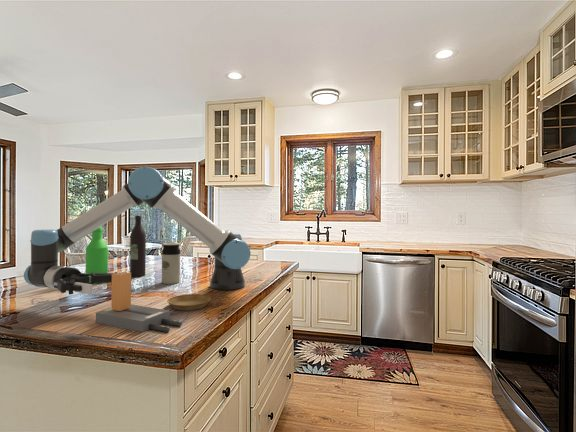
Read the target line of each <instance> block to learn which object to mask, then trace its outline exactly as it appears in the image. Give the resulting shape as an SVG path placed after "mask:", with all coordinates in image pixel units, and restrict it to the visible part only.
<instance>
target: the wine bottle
mask: <svg viewBox="0 0 576 432" xmlns="http://www.w3.org/2000/svg"><path fill="white" fill-rule="evenodd" d="M134 219H135V222H134V227H133V229H132V230H131V232H130V237H129V238H130V239H129V240H130V241H129V242H130V243H129V245H130V246H129V273H131V278H142V276H143V277H145V276H146V261H147V260H146V258H147V257H146V255H147V254H146V251H147V247H146V246H147V244H146V243H147V242H146V241H147V240H146V239H147V238H146V236H147V235H146V232H145V230H144V228H143V225H142V216H141V215H135V216H134Z"/></svg>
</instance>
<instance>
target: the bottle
mask: <svg viewBox="0 0 576 432" xmlns="http://www.w3.org/2000/svg"><path fill="white" fill-rule="evenodd" d="M91 273H109V247H108V245H107V244H106V242H105V241H104V240H103V226H101V227H99V228H98V229H96V230H94V231H93V232H91V240H90V241H89V243H88V245H87V246H86V247H85V274H91ZM89 282H91V280H90V279H89Z"/></svg>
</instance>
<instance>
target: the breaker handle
mask: <svg viewBox="0 0 576 432" xmlns="http://www.w3.org/2000/svg"><path fill="white" fill-rule="evenodd" d="M131 304H132V277H131V273H130V272H125V271H121V272H117V273H116V274H112V282H111V307H110V308H111V310H117V311H122V310H125V309H128V308H131Z"/></svg>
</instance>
